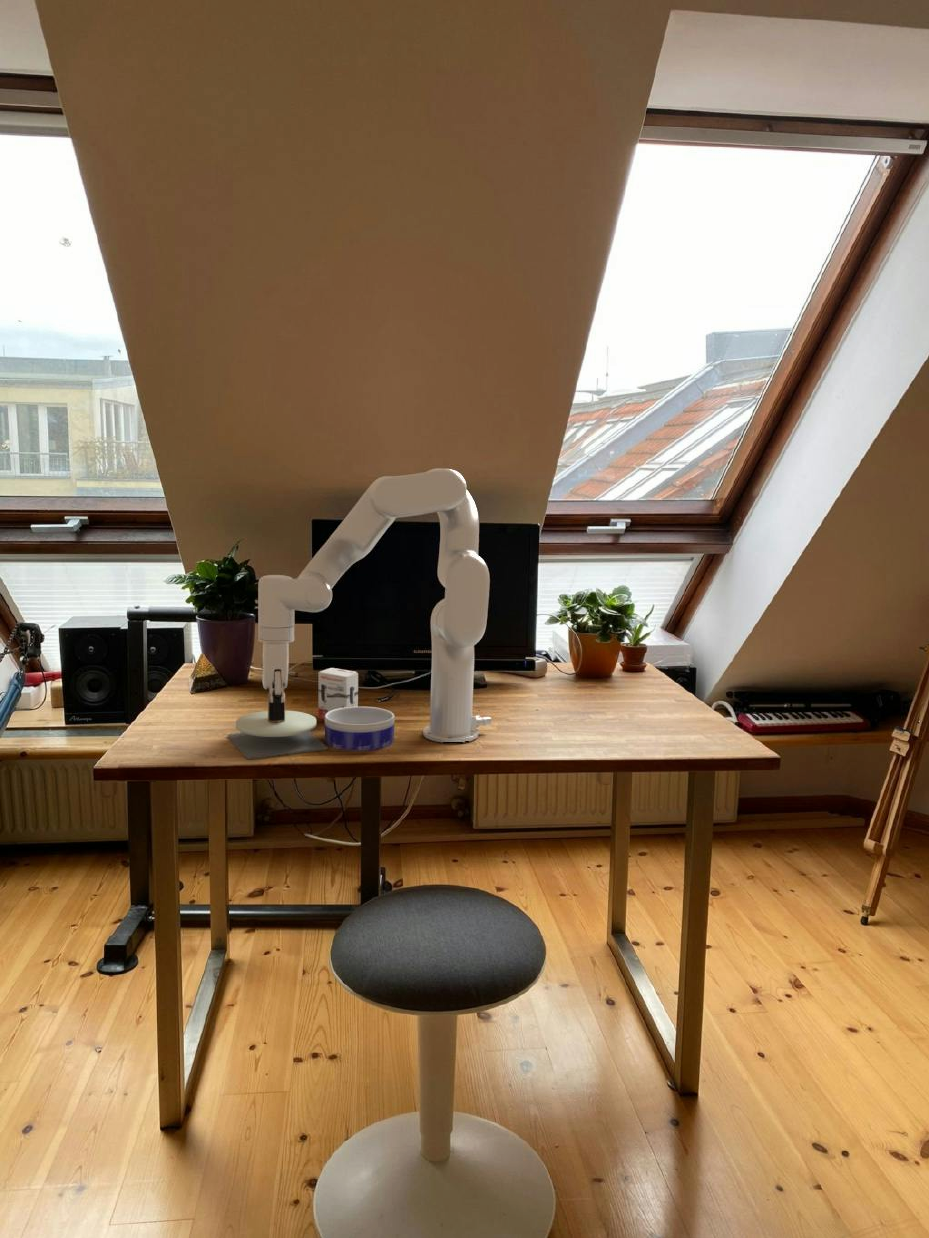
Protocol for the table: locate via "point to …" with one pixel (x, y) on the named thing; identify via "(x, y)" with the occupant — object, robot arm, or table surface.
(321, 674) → the ink box
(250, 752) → the mat
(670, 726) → the table surface
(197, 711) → the table surface
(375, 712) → the dog bowl
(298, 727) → the lid
